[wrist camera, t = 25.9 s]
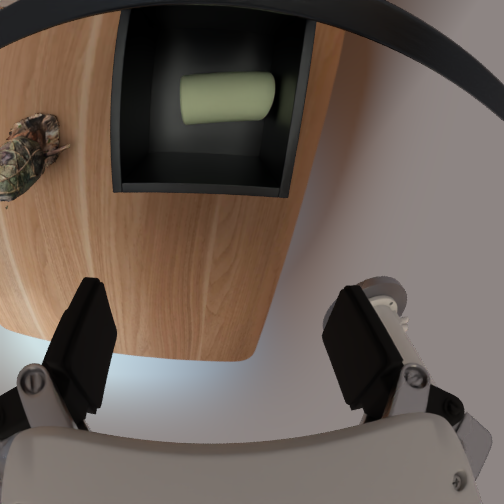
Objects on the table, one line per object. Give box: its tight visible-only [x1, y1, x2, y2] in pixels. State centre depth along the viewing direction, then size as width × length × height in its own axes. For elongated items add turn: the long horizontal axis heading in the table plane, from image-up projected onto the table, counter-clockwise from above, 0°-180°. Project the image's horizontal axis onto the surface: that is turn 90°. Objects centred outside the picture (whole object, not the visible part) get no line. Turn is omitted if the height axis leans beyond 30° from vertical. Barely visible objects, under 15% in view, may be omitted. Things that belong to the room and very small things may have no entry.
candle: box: [180, 71, 275, 125], centre depth 22 cm, size 5×5×8 cm
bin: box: [110, 5, 316, 198], centre depth 20 cm, size 16×14×11 cm
